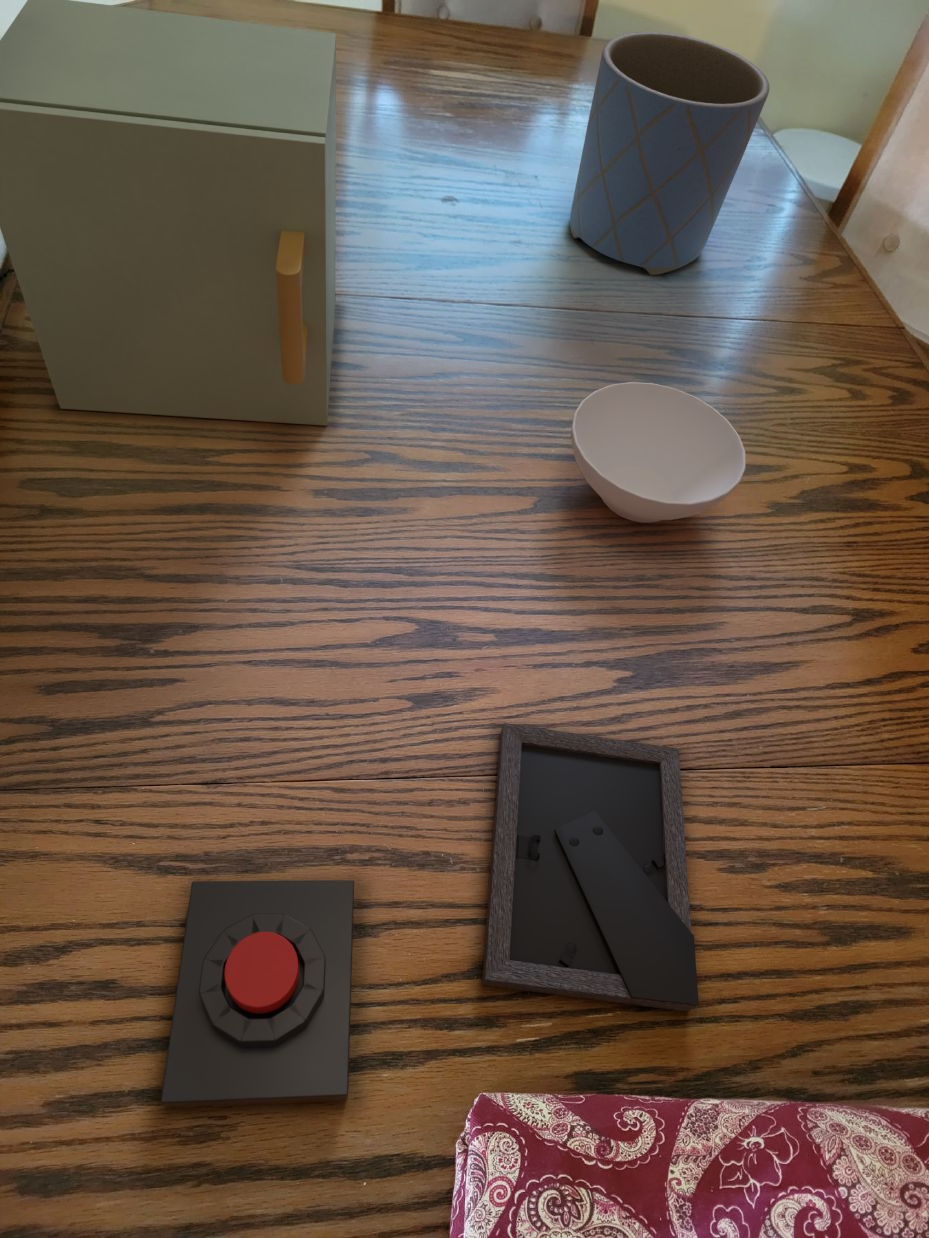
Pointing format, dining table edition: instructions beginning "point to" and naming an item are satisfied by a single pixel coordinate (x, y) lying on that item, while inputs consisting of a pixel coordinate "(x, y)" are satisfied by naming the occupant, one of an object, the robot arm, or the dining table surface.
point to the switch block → (271, 1042)
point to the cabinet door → (170, 262)
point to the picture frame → (589, 871)
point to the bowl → (655, 451)
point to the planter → (662, 146)
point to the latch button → (262, 972)
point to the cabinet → (179, 77)
